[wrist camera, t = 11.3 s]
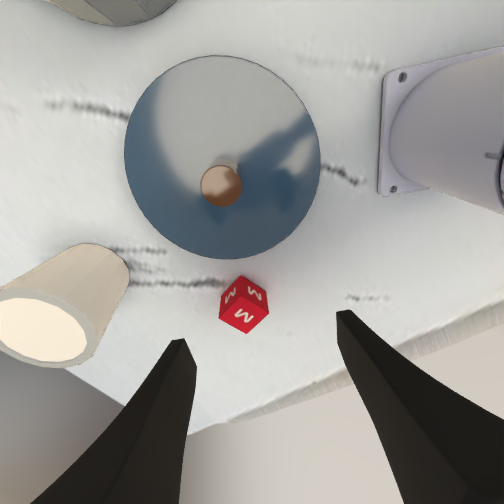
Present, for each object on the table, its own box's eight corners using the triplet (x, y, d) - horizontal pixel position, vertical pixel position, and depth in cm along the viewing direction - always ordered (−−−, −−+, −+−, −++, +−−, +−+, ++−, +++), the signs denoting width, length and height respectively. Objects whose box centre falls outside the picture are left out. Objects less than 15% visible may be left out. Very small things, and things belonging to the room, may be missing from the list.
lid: (308, 35, 15) (332, 7, 11) (321, 237, 21) (339, 263, 17) (94, 85, 15) (47, 74, 12) (168, 265, 22) (153, 296, 18)
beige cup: (34, 257, 21) (-53, 315, 15) (100, 222, 20) (35, 270, 13) (92, 313, 24) (41, 381, 18) (153, 286, 23) (120, 349, 16)
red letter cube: (220, 296, 23) (218, 318, 21) (240, 274, 22) (240, 295, 20) (246, 310, 24) (246, 334, 22) (266, 291, 23) (269, 313, 21)
